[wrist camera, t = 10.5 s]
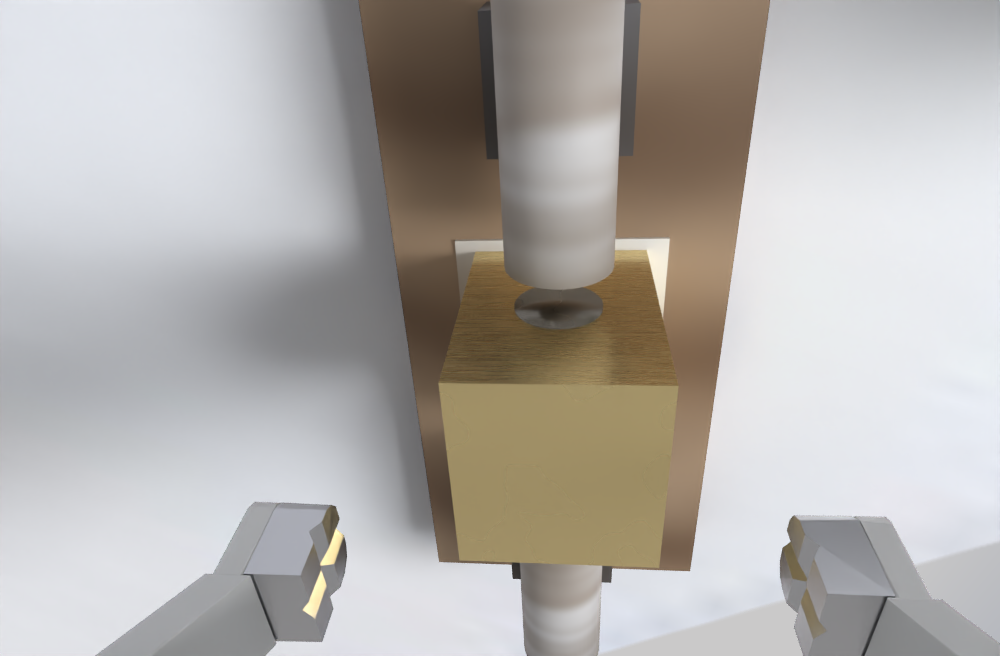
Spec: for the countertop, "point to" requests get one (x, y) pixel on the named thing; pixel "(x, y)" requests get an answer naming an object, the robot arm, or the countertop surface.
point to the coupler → (559, 418)
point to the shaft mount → (567, 203)
